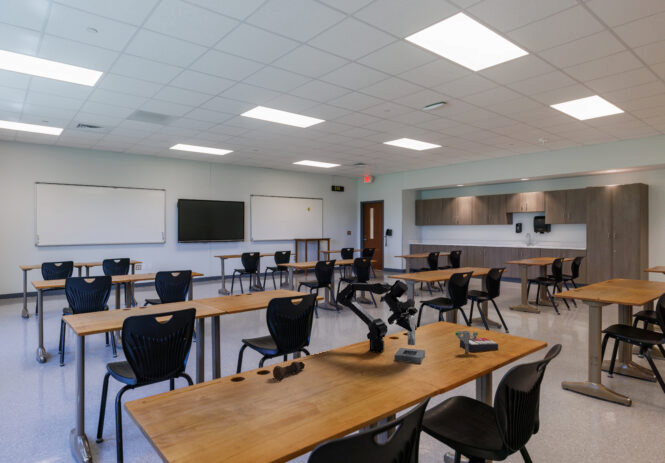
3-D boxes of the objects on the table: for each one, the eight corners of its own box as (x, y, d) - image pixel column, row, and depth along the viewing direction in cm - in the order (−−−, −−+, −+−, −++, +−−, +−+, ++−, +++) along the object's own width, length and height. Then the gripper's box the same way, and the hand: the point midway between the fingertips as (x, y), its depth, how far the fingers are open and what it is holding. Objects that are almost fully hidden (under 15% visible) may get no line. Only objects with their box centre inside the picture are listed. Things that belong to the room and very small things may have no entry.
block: (394, 360, 181) (394, 355, 181) (400, 352, 192) (400, 347, 192) (420, 363, 176) (420, 357, 176) (425, 355, 187) (425, 350, 187)
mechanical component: (478, 353, 190) (478, 332, 190) (457, 353, 190) (456, 332, 190) (476, 351, 193) (475, 330, 193) (455, 351, 193) (454, 331, 193)
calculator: (498, 342, 196) (472, 343, 192) (498, 351, 196) (471, 352, 192) (485, 337, 206) (459, 337, 203) (484, 345, 206) (459, 346, 203)
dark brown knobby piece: (303, 374, 170) (278, 383, 159) (296, 366, 173) (270, 374, 162) (308, 363, 169) (283, 372, 157) (301, 355, 171) (275, 363, 160)
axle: (406, 344, 182) (406, 316, 182) (408, 342, 185) (408, 315, 185) (414, 345, 181) (414, 317, 181) (415, 343, 184) (415, 315, 184)
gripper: (392, 295, 179) (414, 324, 171) (414, 291, 192) (435, 316, 185) (378, 310, 184) (398, 338, 177) (400, 304, 198) (420, 330, 190)
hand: (414, 330), depth 182 cm, fingers closed on axle, 3 cm apart
